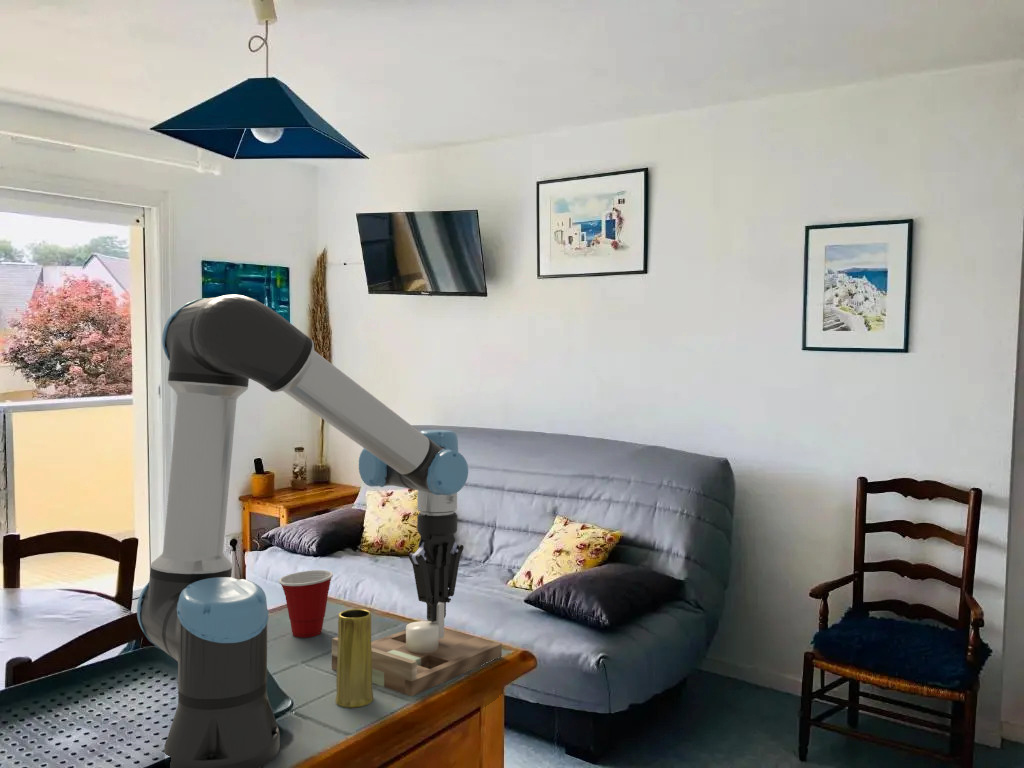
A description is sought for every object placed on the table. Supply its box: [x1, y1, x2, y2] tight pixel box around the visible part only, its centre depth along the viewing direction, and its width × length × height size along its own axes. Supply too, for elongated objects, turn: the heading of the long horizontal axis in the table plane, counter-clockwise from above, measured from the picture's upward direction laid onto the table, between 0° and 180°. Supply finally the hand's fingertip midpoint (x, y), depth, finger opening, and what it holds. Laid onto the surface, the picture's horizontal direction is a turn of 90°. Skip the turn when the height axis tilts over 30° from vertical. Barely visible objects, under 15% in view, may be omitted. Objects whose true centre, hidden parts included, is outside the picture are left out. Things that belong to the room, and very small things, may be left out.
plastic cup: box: [278, 569, 334, 639], centre depth 166 cm, size 11×11×12 cm
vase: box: [334, 608, 375, 709], centre depth 132 cm, size 6×6×14 cm
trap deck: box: [331, 628, 503, 697], centre depth 150 cm, size 24×20×6 cm
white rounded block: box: [405, 620, 439, 653], centre depth 151 cm, size 6×6×4 cm
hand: (436, 636), depth 154 cm, fingers closed
